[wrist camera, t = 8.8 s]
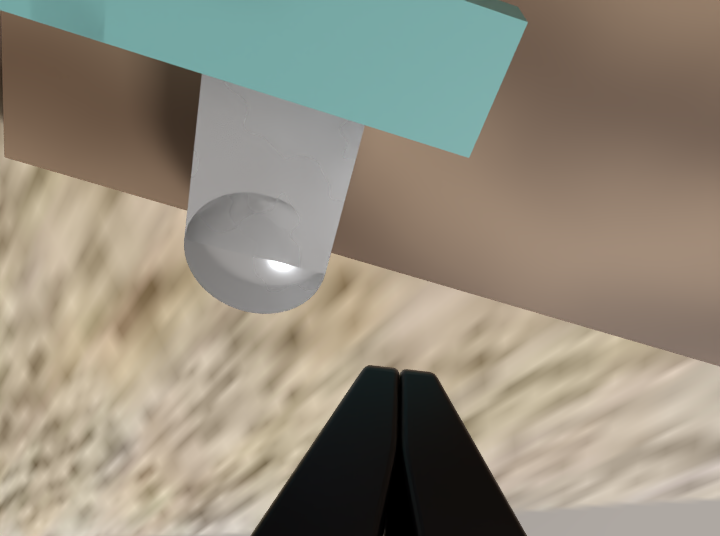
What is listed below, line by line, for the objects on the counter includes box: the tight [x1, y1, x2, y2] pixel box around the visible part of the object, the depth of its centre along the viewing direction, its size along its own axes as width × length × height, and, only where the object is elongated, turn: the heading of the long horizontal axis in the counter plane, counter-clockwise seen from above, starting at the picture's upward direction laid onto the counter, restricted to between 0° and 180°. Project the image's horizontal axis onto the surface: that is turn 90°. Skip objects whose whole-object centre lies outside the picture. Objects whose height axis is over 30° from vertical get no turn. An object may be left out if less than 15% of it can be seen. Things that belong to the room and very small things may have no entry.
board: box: [0, 0, 720, 366], centre depth 15 cm, size 15×24×1 cm, turn 73°
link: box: [184, 74, 365, 314], centre depth 12 cm, size 14×4×4 cm, turn 166°
